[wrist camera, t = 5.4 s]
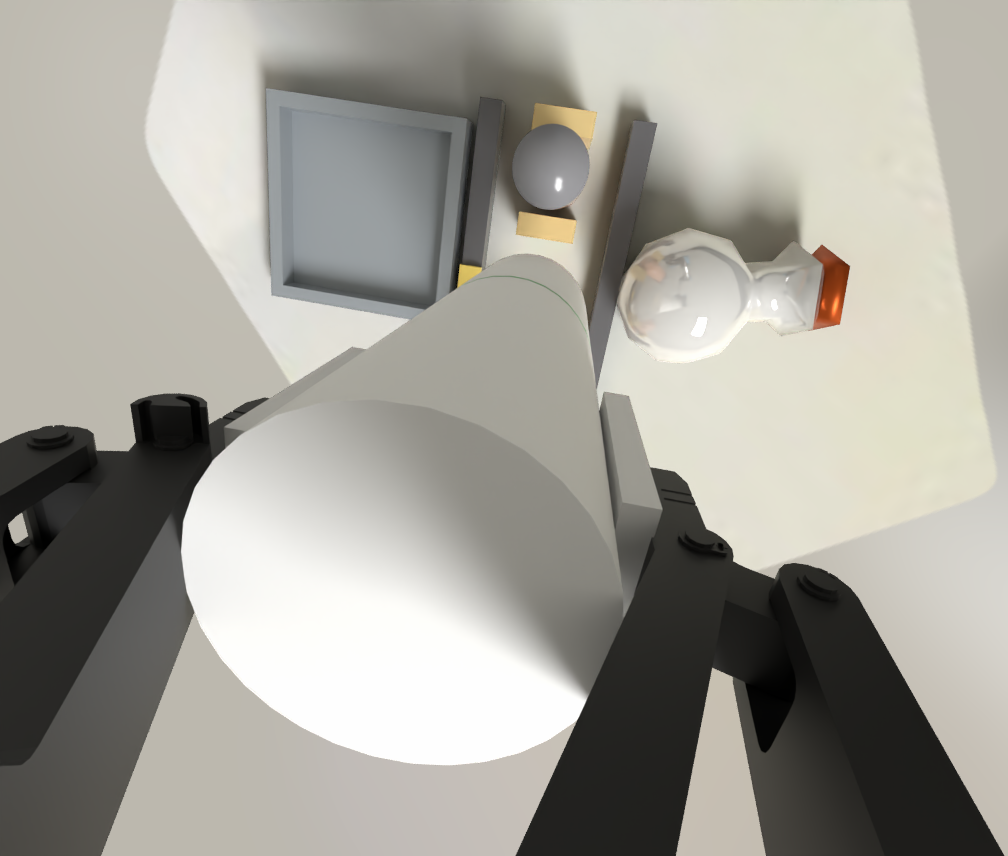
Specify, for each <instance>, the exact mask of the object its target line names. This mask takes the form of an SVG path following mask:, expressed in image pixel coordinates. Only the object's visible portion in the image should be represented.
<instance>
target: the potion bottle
mask: <svg viewBox="0 0 1008 856" xmlns="http://www.w3.org/2000/svg"><path fill="white" fill-rule="evenodd" d="M849 269H850V266H849V265H848V264H846V263H845V262H844V261H843V260H841V259H840V258H839V257H837V256H836V255H835V254H833V253H832V252H831V251H830V250H828V249H827V248H826V247H824V246H823V245H821V246H820V247H819V248H818V249H817V250H816V251H815V252H814V253H813V254H812V255H811V254H810V253H808V252H807V251H806V250H805V249H804V248H802V247H801V246H800V245H799V244H798V243H796V242H795V241H794V240H793V241H792V242H791V243H790V244H789V245H788V246H787V247H786V248H785V249H784V250H783V251H782V252H781V253H780V254H779V255H778V256H777V257H776V258H775V259H774V260H773V261H766V262H751V263H744V261H743V259H742V257H741V256H740V254H739V252H738V251H737V249H736V247H735V246H734V244H733V242H732V241H731V240H729V239H725V238H722V237H718V236H715V235H711V234H708V233H704V232H701V231H698V230H694V229H691V228H686V229H684V230H681V231H678V232H676V233H673V234H670V235H668V236H665V237H662V238H660V239H657V240H654V241H652V242H649V243H646V244H645V246H644V247H643V249H642V250H641V251H640V253H639V254H638V256H637V257H636V258H635V260H634V261H633V263H632V264H631V265H630V267H629V268H628V270H627V271H626V272H625V274H624V275H623V277H622V278H621V283H620V288H619V294H618V299H617V306H618V310H619V314H620V318H621V321H622V323H623V326H624V328H625V331H626V333H627V336H628V338H629V339H630V340H631V341H633V342H634V343H635V344H636V345H637V346H638V347H639V348H641V349H642V350H643V351H644V352H646V353H647V354H648V355H649V356H651V357H652V358H653V359H655V360H656V361H662V362H670V363H678V364H681V363H687V362H692V361H696V360H700V359H704V358H707V357H711V356H714V355H718V354H721V353H722V352H723V350H724V349H725V348H726V347H727V346H728V344H729V343H730V342H731V341H732V340H733V338H734V337H735V336H736V335H737V333H738V332H739V331H740V330H741V329H742V327H743V326H744V325H745V324H746V323H749V322H766V323H767V324H768V325H769V326H770V327H771V328H773V329H774V330H775V331H776V332H777V333H778V334H779V335H780V336H784V335H789V334H793V333H798V332H803V331H810V330H815V329H820V328H824V327H829V326H834V325H839V324H840V320H841V315H842V309H843V303H844V298H845V292H846V286H847V280H848V275H849Z"/></svg>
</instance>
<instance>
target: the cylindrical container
mask: <svg viewBox="0 0 1008 856" xmlns="http://www.w3.org/2000/svg"><path fill="white" fill-rule="evenodd" d="M181 555H182V563H183V571H184V578H185V584H186V590H187V594H188V596H189V599H190V601H191V604H192V606H193V609H194V611H195V614H196V616H197V619H198V621H199V624H200V626H201V628H202V630H203V631H204V633H205V634H206V636H207V637H208V639H209V640H210V642H211V644H212V645H213V647H214V648H215V650H216V651H217V653H218V655H219V656H220V658H221V659H222V660H223V661H224V662H225V663H226V665H227V666H228V667H229V668H230V669H231V670H232V671H233V673H234V674H235V675H236V676H237V677H238V678H239V679H240V680H241V681H242V683H243V684H244V685H245V686H246V687H248V688H249V689H250V690H251V691H252V692H253V693H255V694H256V695H257V696H258V697H259V698H260V699H262V700H263V701H264V702H265V703H266V704H268V705H269V706H270V707H271V708H272V709H274V710H276V711H277V712H279V713H280V714H282V715H283V716H285V717H287V718H288V719H290V720H291V721H292V722H294V723H296V724H297V725H299V726H300V727H302V728H304V729H306V730H308V731H310V732H312V733H314V734H316V735H318V736H320V737H323V738H325V739H327V740H329V741H331V742H333V743H335V744H338V745H341V746H344V747H347V748H350V749H353V750H356V751H359V752H362V753H365V754H368V755H370V756H375V757H380V758H386V759H391V760H396V761H401V762H406V763H415V764H435V765H456V764H467V763H477V762H486V761H490V760H494V759H498V758H501V757H505V756H509V755H513V754H517V753H520V752H522V751H524V750H527V749H529V748H531V747H533V746H536V745H538V744H540V743H542V742H545V741H547V740H549V739H550V738H552V737H553V736H555V735H556V734H557V733H559V732H560V731H562V730H563V729H565V728H566V727H568V726H569V725H571V724H572V723H574V722H575V721H576V720H577V719H578V718H579V716H580V713H581V711H582V709H583V707H584V705H585V702H586V700H587V698H588V696H589V694H590V691H591V689H592V687H593V685H594V683H595V680H596V678H597V676H598V674H599V672H600V670H601V667H602V665H603V663H604V661H605V659H606V656H607V654H608V652H609V650H610V648H611V645H612V643H613V641H614V639H615V637H616V634H617V632H618V630H619V628H620V626H621V623H622V621H623V590H622V583H621V575H620V567H619V560H618V552H617V544H616V537H615V529H614V521H613V513H612V506H611V498H610V490H609V483H608V475H607V467H606V460H605V452H604V444H603V436H602V429H601V421H600V413H599V406H598V398H597V390H596V383H595V375H594V367H593V360H592V352H591V345H590V337H589V329H588V321H587V313H586V305H585V301H584V297H583V293H582V291H581V289H580V287H579V285H578V283H577V282H576V280H575V279H574V277H573V276H572V275H571V273H569V272H568V271H567V270H566V269H565V268H564V267H563V266H562V265H560V264H558V263H557V262H555V261H553V260H552V259H549V258H546V257H543V256H540V255H534V254H518V255H512V256H509V257H506V258H503V259H501V260H499V261H497V262H496V263H494V264H492V265H491V266H489V267H488V268H486V269H485V270H483V271H482V272H480V273H479V274H477V275H476V276H474V277H473V278H471V279H470V280H468V281H467V282H466V283H464V284H463V285H461V286H460V287H458V288H457V289H455V290H454V291H452V292H451V293H449V294H448V295H446V296H445V297H443V298H442V299H441V300H439V301H438V302H436V303H435V304H433V305H432V306H430V307H429V308H427V309H426V310H424V311H423V312H421V313H420V314H418V315H417V316H415V317H414V318H412V319H411V320H409V321H408V322H407V323H405V324H404V325H402V326H401V327H399V328H398V329H396V330H395V331H393V332H392V333H390V334H389V335H387V336H386V337H384V338H383V339H381V340H380V341H378V342H377V343H376V344H374V345H373V346H371V347H370V348H368V349H367V350H365V351H364V352H362V353H361V354H359V355H358V356H356V357H355V358H353V359H352V360H350V361H349V362H347V363H346V364H344V365H343V366H342V367H340V368H339V369H337V370H336V371H334V372H333V373H331V374H330V375H328V376H327V377H325V378H324V379H322V380H321V381H319V382H318V383H316V384H315V385H313V386H312V387H311V388H309V389H308V390H306V391H305V392H303V393H302V394H300V395H299V396H297V397H296V398H294V399H293V400H291V401H290V402H288V403H287V404H285V405H284V406H282V407H281V408H279V409H278V410H277V411H275V412H274V413H272V414H271V415H269V416H268V417H266V418H265V419H263V420H262V421H260V422H259V423H257V424H256V425H254V426H253V427H251V428H250V429H248V430H247V431H246V432H244V433H243V434H241V435H240V436H239V437H238V438H237V439H235V440H234V441H233V442H232V443H231V444H230V445H229V446H228V447H227V448H226V449H224V450H223V451H222V452H221V453H220V454H219V455H218V456H217V457H216V458H215V459H214V460H213V461H212V463H211V464H210V466H209V467H208V469H207V470H206V472H205V473H204V475H203V476H202V478H201V479H200V481H199V482H198V484H197V485H196V487H195V488H194V491H193V494H192V497H191V500H190V503H189V506H188V509H187V512H186V515H185V517H184V520H183V533H182V546H181Z"/></svg>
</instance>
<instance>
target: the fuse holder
mask: <svg viewBox="0 0 1008 856" xmlns="http://www.w3.org/2000/svg"><path fill="white" fill-rule="evenodd" d="M505 108H506V105H505V104H504V102H503V100H497V99H490V98H483V97H480V105H479V114H478V123H477V132H476V141H475V150H474V159H473V168H472V178H471V187H470V196H469V205H468V214H467V223H466V232H465V241H464V250H463V259H462V264H460V268H459V277H458V286H457V288H458V287H460V286H461V285H463V284H464V283H466V282H467V281H468V280H470V279H471V278H473V277H474V276H476V275H477V274H479V273H480V272H482V271H483V270H485V265H486V257H487V249H488V241H489V233H490V226H491V218H492V210H493V202H494V194H495V186H496V179H497V171H498V163H499V155H500V147H501V139H502V131H503V124H504V116H505ZM596 115H597V112H593V111H586V110H580V109H573V108H566V107H559V106H553V105H546V104H539V103H535V107H534V114H533V121H532V128H531V130H533V129H535V128H536V127H539V126H541V125H545V124H560V125H564V126H566V127H568V128H570V129H572V130H573V131H574V132H576V133H577V134H578V135H579V136H580V138H581V139H582V141H583V142H584V144H585V146H586V149H590V145H591V141H592V137H593V131H594V126H595V121H596ZM656 127H657V123H652V122H645V121H638V120H634V121H633V123H632V124H631V129H630V134H629V139H628V143H627V148H626V153H625V157H624V162H623V167H622V172H621V176H620V181H619V186H618V191H617V195H616V200H615V205H614V210H613V214H612V219H611V224H610V228H609V233H608V238H607V243H606V247H605V252H604V257H603V262H602V266H601V271H600V276H599V280H598V285H597V290H596V295H595V299H594V304H593V309H592V314H591V318H590V323H589V328H588V329H589V337H590V345H591V352H592V360H593V367H594V375H595V383H596V390H597V385H598V381H599V377H600V372H601V368H602V363H603V359H604V355H605V350H606V346H607V342H608V337H609V333H610V328H611V324H612V320H613V315H614V311H615V306H616V302H617V298H618V293H619V288H620V283H621V278H622V276H623V271H624V267H625V263H626V258H627V254H628V249H629V245H630V241H631V236H632V232H633V228H634V223H635V219H636V214H637V210H638V206H639V201H640V197H641V193H642V188H643V184H644V179H645V175H646V171H647V166H648V162H649V157H650V153H651V149H652V144H653V140H654V136H655V131H656ZM576 222H577V221H576V220H573V219H566V218H560V217H554V216H548V215H541V214H535V213H529V212H519V217H518V223H517V230H516V235H521V236H527V237H534V238H540V239H546V240H552V241H558V242H564V243H570V244H573V238H574V233H575V228H576Z"/></svg>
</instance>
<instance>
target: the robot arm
mask: <svg viewBox="0 0 1008 856" xmlns="http://www.w3.org/2000/svg"><path fill="white" fill-rule="evenodd" d="M365 350H367V349H361V348H355V347H351V348H350V349H348V350H347V351H345V352H343V353H342V354H340V355H339V356H337V357H335V358H334V359H332V360H331V361H329V362H327V363H326V364H324V365H323V366H321V367H319V368H318V369H316V370H315V371H313V372H311V373H310V374H308V375H307V376H305V377H303V378H302V379H300V380H299V381H297V382H295V383H294V384H292V385H291V386H289V387H287V388H286V389H284V390H283V391H281V392H279V393H278V394H276V395H274V396H273V397H271V398H262V399H258V400H254V401H251V402H247V403H245V404H243V405H241V406H240V407H238V408H236V409H235V410H233V412H230V413H228V414H226V415H225V416H223V418H219V419H218V420H216V421H214V422H213V423H211V424H209V421H208V409H207V402H206V401H205V400H204V399H202V398H200V397H197V396H194V395H187V394H160V395H153V396H148V397H145V398H142V399H138V400H137V401H135V402H133V403H132V404H131V412H132V418H133V425H134V432H135V438H136V443H135V444H134V445H133V447H132V448H131V449H130V450H129V451H97V450H96V445H95V440H94V434H93V433H92V432H90V431H89V430H88V429H83V428H79V427H68V426H64V425H56V426H54V427H53V426H45V427H42V428H40V429H37V430H32V431H28V432H25V433H22V434H20V435H17V436H15V437H13V438H11V439H9V440H6V441H4V442H2V443H0V856H101V854H102V852H103V849H104V846H105V844H106V841H107V838H108V836H109V833H110V831H111V828H112V825H113V823H114V820H115V818H116V815H117V812H118V810H119V807H120V805H121V802H122V799H123V797H124V794H125V792H126V789H127V786H128V784H129V781H130V778H131V776H132V773H133V771H134V768H135V765H136V763H137V760H138V758H139V755H140V752H141V750H142V747H143V744H144V742H145V739H146V737H147V734H148V732H149V729H150V726H151V724H152V721H153V718H154V716H155V713H156V711H157V708H158V705H159V703H160V700H161V697H162V695H163V692H164V690H165V687H166V685H167V682H168V679H169V676H170V674H171V671H172V669H173V666H174V663H175V661H176V658H177V656H178V653H179V651H180V648H181V645H182V643H183V640H184V637H185V635H186V632H187V630H188V627H189V625H190V622H191V619H192V617H193V614H194V609H193V606H192V604H191V601H190V599H189V596H188V594H187V590H186V584H185V578H184V571H183V563H182V555H181V546H182V533H183V520H184V517H185V515H186V512H187V509H188V506H189V503H190V500H191V497H192V494H193V491H194V488H195V487H196V485H197V484H198V482H199V481H200V479H201V478H202V476H203V475H204V473H205V472H206V470H207V469H208V467H209V466H210V464H211V463H212V461H213V460H214V459H215V458H216V457H217V456H218V455H219V454H220V453H221V452H222V451H223V450H224V449H226V448H227V447H228V446H229V445H230V444H231V443H232V442H233V441H234V440H235V439H237V438H238V437H239V436H240V435H241V434H243V433H244V432H246V431H247V430H248V429H250V428H251V427H253V426H254V425H256V424H257V423H259V422H260V421H262V420H263V419H265V418H266V417H268V416H269V415H271V414H272V413H274V412H275V411H277V410H278V409H279V408H281V407H282V406H284V405H285V404H287V403H288V402H290V401H291V400H293V399H294V398H296V397H297V396H299V395H300V394H302V393H303V392H305V391H306V390H308V389H309V388H311V387H312V386H313V385H315V384H316V383H318V382H319V381H321V380H322V379H324V378H325V377H327V376H328V375H330V374H331V373H333V372H334V371H336V370H337V369H339V368H340V367H342V366H343V365H344V364H346V363H347V362H349V361H350V360H352V359H353V358H355V357H356V356H358V355H359V354H361V353H362V352H364V351H365ZM599 413H600V421H601V429H602V436H603V444H604V452H605V460H606V467H607V475H608V483H609V490H610V498H611V506H612V513H613V521H614V529H615V537H616V544H617V552H618V560H619V567H620V575H621V583H622V590H623V621H622V623H621V626H620V628H619V630H618V632H617V634H616V637H615V639H614V641H613V643H612V645H611V648H610V650H609V652H608V654H607V656H606V659H605V661H604V663H603V665H602V667H601V670H600V672H599V674H598V676H597V678H596V680H595V683H594V685H593V687H592V689H591V691H590V694H589V696H588V698H587V700H586V702H585V705H584V707H583V709H582V711H581V713H580V716H579V718H578V720H577V722H576V725H575V727H574V729H573V731H572V733H571V736H570V738H569V740H568V742H567V744H566V747H565V749H564V751H563V753H562V755H561V757H560V760H559V762H558V764H557V766H556V768H555V771H554V773H553V775H552V777H551V779H550V782H549V784H548V786H547V788H546V790H545V793H544V795H543V797H542V799H541V801H540V804H539V806H538V808H537V810H536V813H535V814H534V817H533V819H532V821H531V823H530V825H529V828H528V830H527V832H526V834H525V836H524V839H523V841H522V843H521V845H520V847H519V850H518V852H517V854H516V856H676V852H677V846H678V841H679V836H680V831H681V826H682V820H683V815H684V810H685V805H686V800H687V795H688V790H689V784H690V779H691V773H692V768H693V764H694V758H695V752H696V748H697V743H698V738H699V733H700V727H701V722H702V717H703V712H704V707H705V702H706V697H707V691H708V686H709V681H710V676H711V671H712V668H715V669H717V670H719V671H721V672H724V673H726V674H728V675H730V676H732V677H733V685H734V690H735V696H736V701H737V706H738V712H739V717H740V722H741V727H742V732H743V738H744V743H745V748H746V753H747V759H748V764H749V769H750V774H751V780H752V785H753V790H754V795H755V801H756V806H757V811H758V816H759V822H760V827H761V832H762V837H763V842H764V847H765V853H766V856H1004V854H1003V853H1002V851H1001V849H1000V847H999V845H998V844H997V842H996V840H995V839H994V837H993V835H992V833H991V831H990V829H989V828H988V826H987V824H986V822H985V821H984V819H983V817H982V815H981V814H980V812H979V810H978V808H977V806H976V805H975V803H974V801H973V799H972V798H971V796H970V794H969V792H968V791H967V789H966V787H965V785H964V784H963V782H962V780H961V778H960V776H959V775H958V773H957V771H956V770H955V768H954V766H953V764H952V762H951V761H950V759H949V757H948V755H947V754H946V752H945V750H944V748H943V746H942V745H941V743H940V741H939V740H938V738H937V736H936V734H935V732H934V731H933V729H932V727H931V726H930V724H929V722H928V720H927V718H926V716H925V715H924V713H923V711H922V710H921V708H920V706H919V704H918V703H917V701H916V699H915V697H914V695H913V693H912V692H911V690H910V688H909V686H908V685H907V683H906V681H905V679H904V678H903V676H902V674H901V672H900V671H899V669H898V667H897V665H896V663H895V662H894V660H893V658H892V656H891V655H890V653H889V651H888V650H887V648H886V646H885V644H884V642H883V641H882V639H881V637H880V635H879V634H878V632H877V630H876V628H875V627H874V625H873V623H872V621H871V619H870V618H869V616H868V614H867V612H866V611H865V609H864V607H863V605H862V604H861V602H860V600H859V598H858V597H857V596H856V594H855V593H854V592H853V591H852V589H851V588H849V587H848V586H847V585H846V584H844V583H843V582H842V581H841V580H839V579H838V578H837V577H836V576H834V575H832V574H831V573H828V572H827V571H825V570H822V569H820V568H815V567H812V566H809V565H804V564H797V563H791V564H784V565H783V566H782V567H781V568H780V569H779V571H778V573H777V575H776V577H775V579H774V578H771V577H768V576H766V575H763V574H760V573H758V572H755V571H752V570H750V569H748V568H745V567H743V566H741V565H739V564H737V563H735V562H733V557H734V556H733V551H732V548H731V547H730V546H729V544H728V543H727V542H726V541H725V540H724V539H722V538H721V537H720V536H718V535H717V534H716V533H714V532H711V531H709V530H707V529H706V527H705V525H704V522H703V520H702V518H701V515H700V513H699V510H698V508H697V506H695V504H696V503H695V501H694V498H693V497H692V494H691V491H690V489H689V486H688V484H687V483H686V482H685V481H684V480H683V479H682V478H681V477H680V476H679V475H678V474H677V473H676V472H673V471H668V470H662V469H657V468H651V467H650V466H649V462H648V459H647V456H646V452H645V449H644V446H643V442H642V439H641V436H640V432H639V429H638V426H637V422H636V419H635V415H634V412H633V409H632V405H631V402H630V399H629V396H626V395H620V394H615V393H609V392H604V393H603V398H602V402H601V406H600V410H599ZM20 513H22V514H23V518H24V521H25V525H26V529H27V533H28V537H26V538H25V539H23V540H22V541H21V542H19V543H17V544H15V543H14V542H13V540H12V538H11V534H10V531H9V527H8V524H9V523H10V522H11V521H12V520H13V519H14V518H15V517H16V516H17V515H19V514H20Z"/></svg>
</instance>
